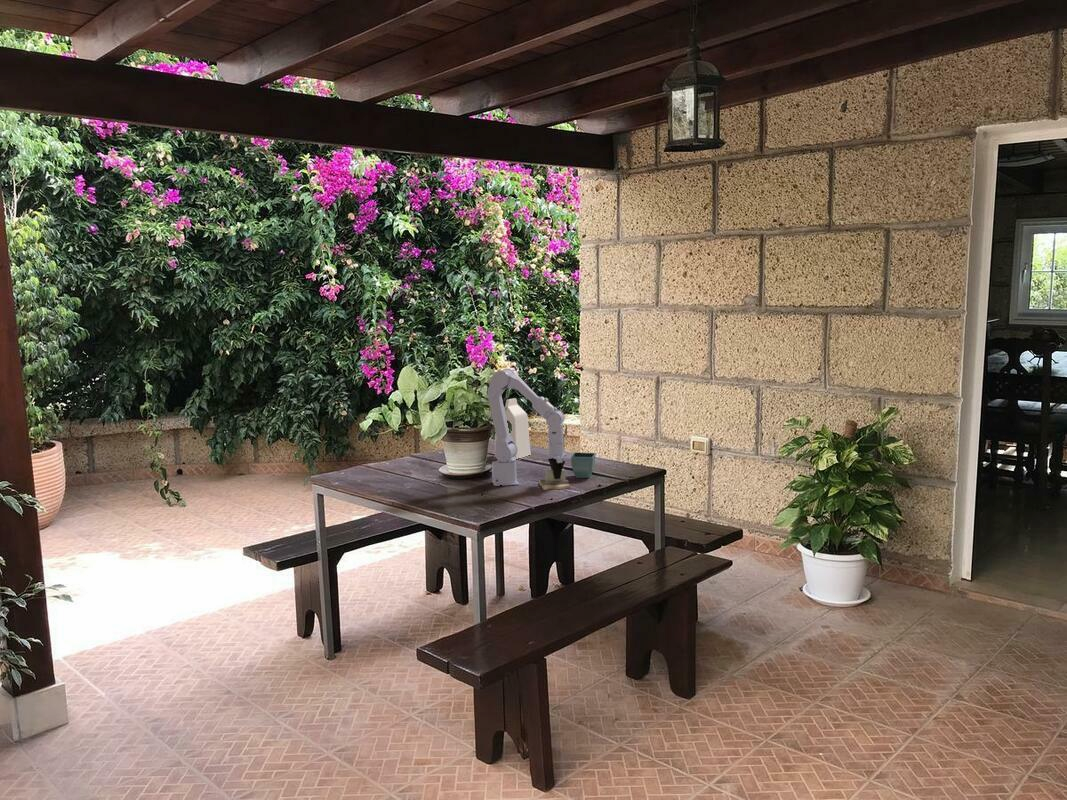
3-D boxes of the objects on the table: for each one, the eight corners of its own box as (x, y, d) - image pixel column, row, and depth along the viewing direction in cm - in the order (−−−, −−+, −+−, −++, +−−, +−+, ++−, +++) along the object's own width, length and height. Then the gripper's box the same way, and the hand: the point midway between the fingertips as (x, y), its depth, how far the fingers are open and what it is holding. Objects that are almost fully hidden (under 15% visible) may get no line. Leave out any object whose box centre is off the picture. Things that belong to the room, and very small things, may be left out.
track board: (543, 489, 322) (543, 484, 322) (538, 482, 334) (538, 477, 334) (570, 488, 324) (570, 482, 324) (564, 481, 336) (564, 475, 335)
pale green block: (546, 484, 327) (546, 471, 327) (545, 482, 330) (545, 469, 329) (564, 483, 328) (564, 470, 328) (563, 481, 331) (563, 468, 330)
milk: (516, 460, 379) (515, 401, 375) (494, 458, 385) (493, 400, 381) (530, 455, 389) (529, 398, 385) (509, 453, 395) (507, 396, 391)
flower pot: (593, 479, 338) (592, 457, 337) (570, 479, 340) (570, 456, 338) (596, 474, 346) (595, 452, 345) (574, 474, 348) (574, 452, 347)
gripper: (570, 445, 321) (570, 481, 322) (562, 438, 335) (563, 473, 337) (551, 446, 320) (552, 482, 321) (544, 439, 334) (545, 474, 336)
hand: (556, 477), depth 329 cm, fingers closed on pale green block, 2 cm apart
